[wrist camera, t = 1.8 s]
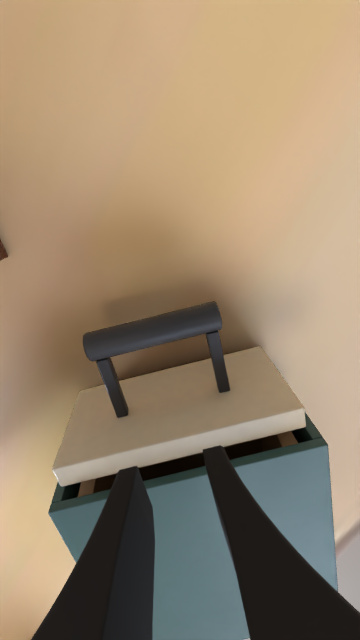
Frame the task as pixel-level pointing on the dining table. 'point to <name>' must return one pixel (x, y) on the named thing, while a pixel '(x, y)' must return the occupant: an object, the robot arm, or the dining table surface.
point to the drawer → (173, 405)
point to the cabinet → (218, 533)
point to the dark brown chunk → (2, 251)
